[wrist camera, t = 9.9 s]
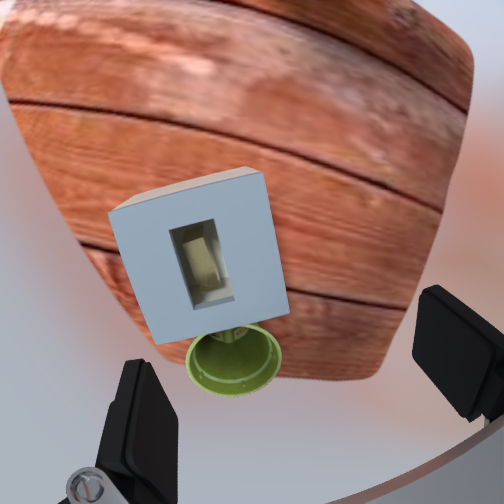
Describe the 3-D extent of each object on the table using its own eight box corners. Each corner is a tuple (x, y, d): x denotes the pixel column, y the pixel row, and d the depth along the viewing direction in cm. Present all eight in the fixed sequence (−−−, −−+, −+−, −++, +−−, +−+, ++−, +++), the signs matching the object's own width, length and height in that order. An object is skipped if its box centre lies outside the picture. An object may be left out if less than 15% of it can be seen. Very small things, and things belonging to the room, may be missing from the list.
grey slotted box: (135, 194, 31) (107, 213, 21) (245, 166, 32) (262, 172, 22) (166, 295, 35) (156, 345, 25) (267, 270, 36) (289, 313, 26)
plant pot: (219, 269, 35) (224, 305, 27) (281, 311, 38) (300, 352, 30) (173, 326, 36) (167, 372, 28) (234, 361, 39) (242, 408, 31)
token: (185, 230, 32) (181, 244, 27) (203, 224, 32) (203, 237, 27) (200, 272, 34) (200, 292, 29) (218, 266, 34) (220, 285, 29)
